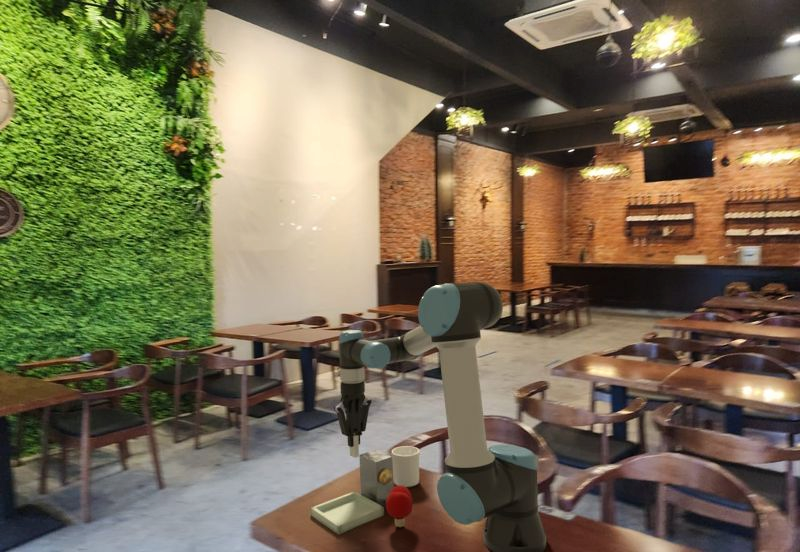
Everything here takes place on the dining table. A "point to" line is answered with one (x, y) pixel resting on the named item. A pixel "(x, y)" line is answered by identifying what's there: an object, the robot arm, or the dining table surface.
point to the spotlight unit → (376, 476)
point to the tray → (347, 512)
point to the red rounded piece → (399, 504)
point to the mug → (406, 466)
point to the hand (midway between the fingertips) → (354, 455)
